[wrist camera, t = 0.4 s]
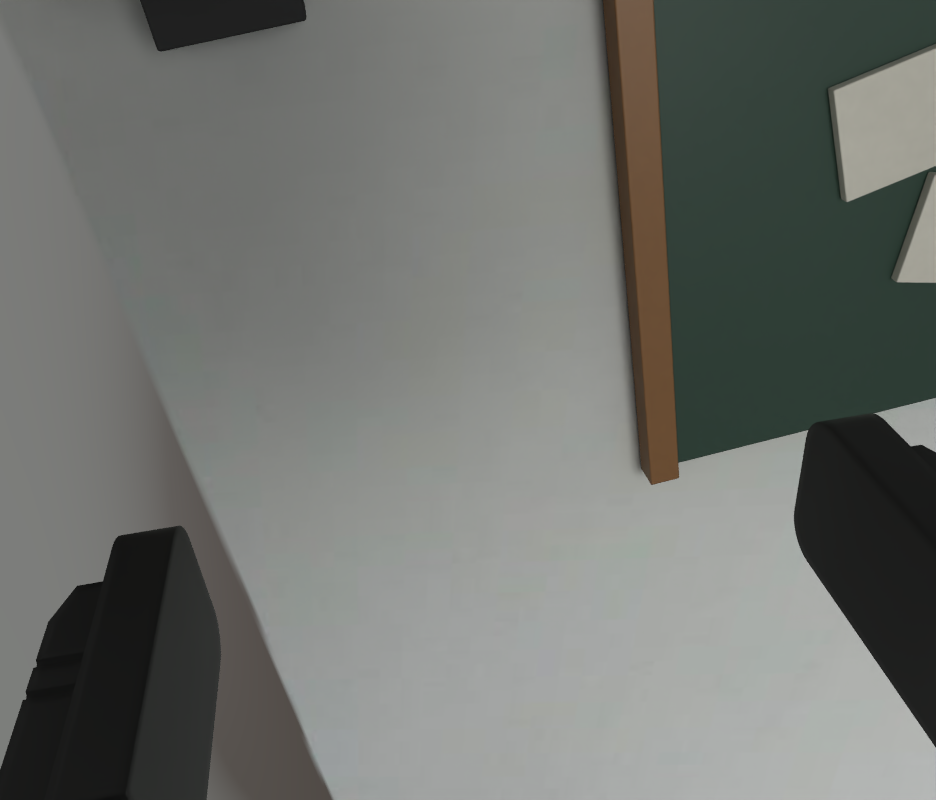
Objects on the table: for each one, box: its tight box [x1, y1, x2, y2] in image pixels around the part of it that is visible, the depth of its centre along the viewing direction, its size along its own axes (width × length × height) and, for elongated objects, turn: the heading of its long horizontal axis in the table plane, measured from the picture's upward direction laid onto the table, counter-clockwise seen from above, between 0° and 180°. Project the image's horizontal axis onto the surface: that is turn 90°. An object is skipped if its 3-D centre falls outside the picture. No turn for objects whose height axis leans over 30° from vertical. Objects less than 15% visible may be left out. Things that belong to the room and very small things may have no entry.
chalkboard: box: [603, 0, 936, 485], centre depth 31 cm, size 21×17×1 cm
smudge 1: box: [828, 44, 936, 202], centre depth 29 cm, size 4×4×1 cm
